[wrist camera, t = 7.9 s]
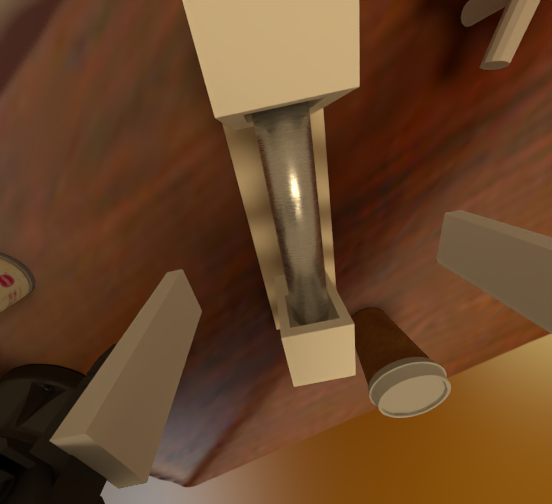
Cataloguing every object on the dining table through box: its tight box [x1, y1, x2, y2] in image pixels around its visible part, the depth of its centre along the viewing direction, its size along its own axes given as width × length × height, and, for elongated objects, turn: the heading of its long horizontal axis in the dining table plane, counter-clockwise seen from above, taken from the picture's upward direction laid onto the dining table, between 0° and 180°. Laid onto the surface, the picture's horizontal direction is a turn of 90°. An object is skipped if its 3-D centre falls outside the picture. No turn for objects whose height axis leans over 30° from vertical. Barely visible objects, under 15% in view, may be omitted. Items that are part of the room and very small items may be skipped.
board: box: [222, 108, 336, 330], centre depth 25 cm, size 37×10×1 cm, turn 11°
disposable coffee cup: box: [351, 308, 451, 418], centre depth 30 cm, size 10×10×12 cm
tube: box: [251, 101, 329, 326], centre depth 18 cm, size 24×4×4 cm, turn 11°
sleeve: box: [274, 270, 356, 387], centre depth 26 cm, size 8×7×11 cm
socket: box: [182, 0, 359, 131], centre depth 15 cm, size 7×8×11 cm
